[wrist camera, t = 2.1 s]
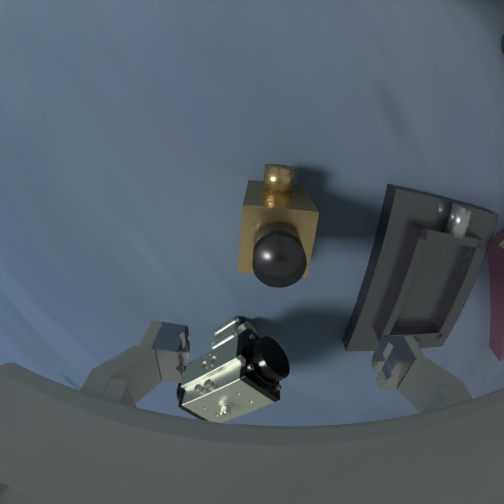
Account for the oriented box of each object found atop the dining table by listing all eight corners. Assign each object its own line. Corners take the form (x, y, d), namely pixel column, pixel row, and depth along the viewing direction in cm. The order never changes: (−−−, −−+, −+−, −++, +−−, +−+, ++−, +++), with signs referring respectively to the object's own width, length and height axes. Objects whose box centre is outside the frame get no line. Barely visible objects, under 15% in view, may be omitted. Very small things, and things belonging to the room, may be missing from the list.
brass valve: (250, 158, 24) (242, 184, 14) (305, 164, 24) (335, 194, 14) (242, 249, 28) (233, 320, 18) (292, 253, 28) (307, 325, 18)
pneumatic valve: (285, 317, 32) (294, 404, 21) (215, 360, 35) (202, 437, 25) (254, 287, 30) (251, 374, 19) (184, 336, 34) (160, 414, 23)
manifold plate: (387, 183, 25) (407, 195, 21) (488, 209, 25) (509, 222, 21) (342, 340, 33) (350, 365, 29) (436, 337, 34) (448, 357, 30)
